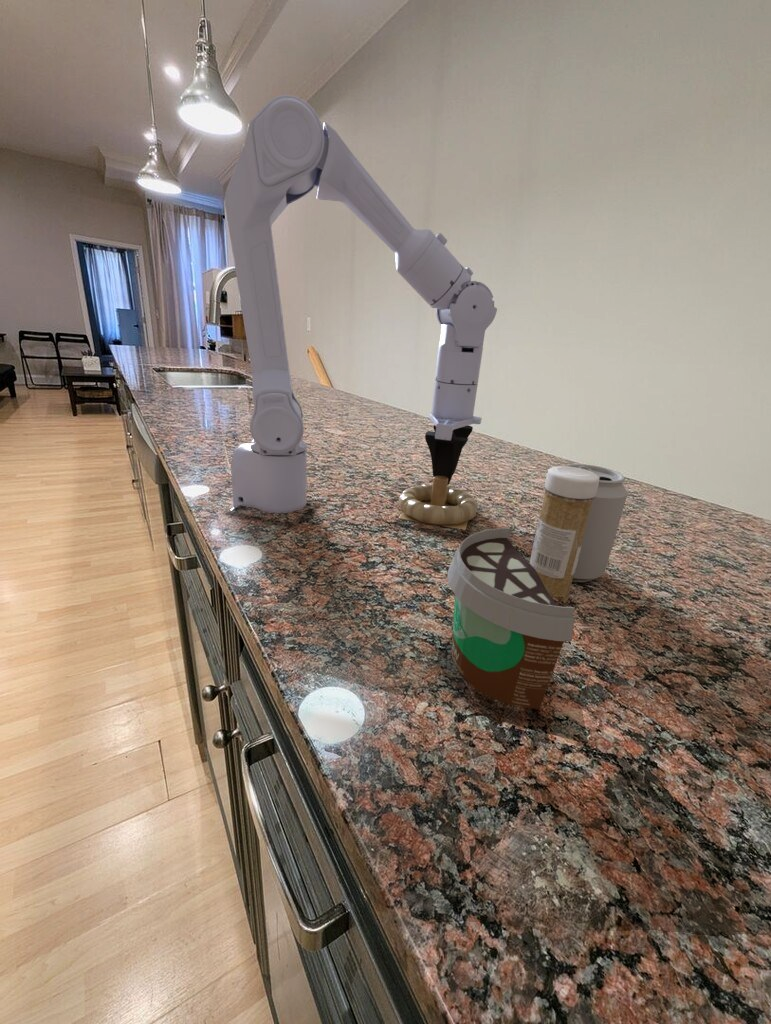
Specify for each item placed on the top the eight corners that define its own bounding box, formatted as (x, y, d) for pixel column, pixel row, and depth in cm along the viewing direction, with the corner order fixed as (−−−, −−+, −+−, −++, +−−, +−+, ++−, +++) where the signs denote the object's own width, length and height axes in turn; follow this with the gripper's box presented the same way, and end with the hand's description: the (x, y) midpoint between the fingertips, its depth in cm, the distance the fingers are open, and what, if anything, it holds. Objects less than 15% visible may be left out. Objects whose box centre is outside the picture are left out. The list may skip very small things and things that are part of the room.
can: (571, 591, 47) (599, 485, 43) (521, 559, 53) (541, 463, 49) (617, 578, 51) (648, 478, 46) (565, 549, 57) (588, 458, 52)
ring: (389, 519, 59) (391, 502, 58) (408, 493, 69) (409, 478, 68) (471, 533, 56) (474, 516, 56) (479, 504, 66) (481, 489, 65)
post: (397, 526, 60) (401, 482, 58) (411, 503, 68) (415, 464, 66) (464, 537, 58) (471, 493, 56) (470, 513, 66) (477, 473, 64)
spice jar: (577, 600, 46) (611, 475, 41) (548, 612, 43) (581, 482, 38) (541, 579, 49) (568, 462, 44) (512, 589, 47) (538, 467, 42)
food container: (424, 623, 41) (436, 523, 37) (489, 623, 41) (508, 525, 37) (454, 739, 29) (476, 612, 25) (544, 737, 30) (579, 613, 26)
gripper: (482, 391, 52) (466, 499, 58) (489, 380, 65) (476, 468, 71) (423, 385, 54) (413, 490, 59) (441, 375, 67) (432, 462, 72)
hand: (444, 478), depth 65 cm, fingers open, 4 cm apart
